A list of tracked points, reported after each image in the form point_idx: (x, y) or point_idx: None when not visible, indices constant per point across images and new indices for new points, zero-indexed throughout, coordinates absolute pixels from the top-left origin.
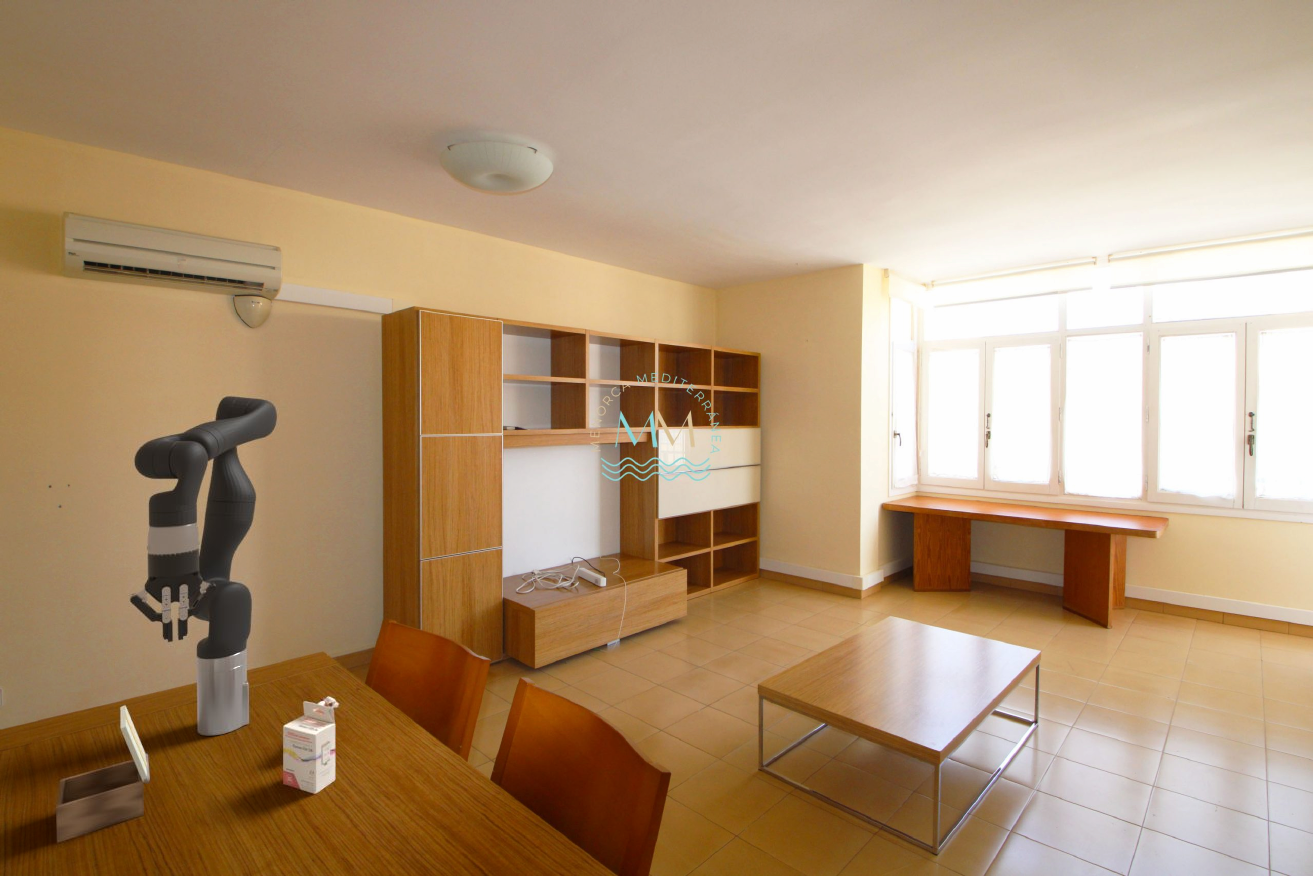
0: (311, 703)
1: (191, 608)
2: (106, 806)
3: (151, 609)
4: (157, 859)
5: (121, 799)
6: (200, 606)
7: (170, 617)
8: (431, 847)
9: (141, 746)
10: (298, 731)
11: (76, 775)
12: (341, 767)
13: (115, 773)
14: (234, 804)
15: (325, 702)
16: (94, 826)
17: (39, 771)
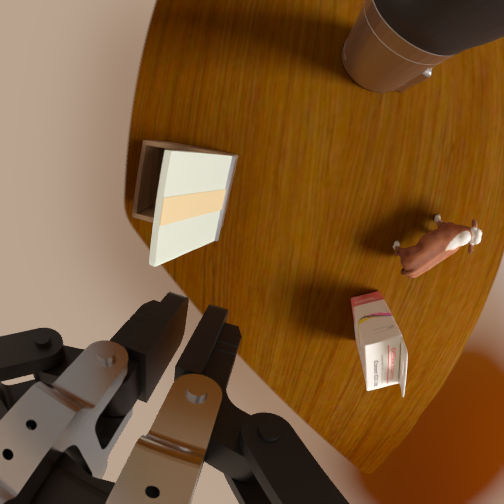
0: (405, 367)
1: (229, 468)
2: None
3: (12, 372)
4: None
5: None
6: (268, 501)
7: (125, 423)
8: (346, 439)
9: (220, 167)
10: (365, 370)
11: (157, 142)
12: (403, 315)
13: None
14: (297, 290)
15: (470, 240)
16: None
17: (172, 18)
